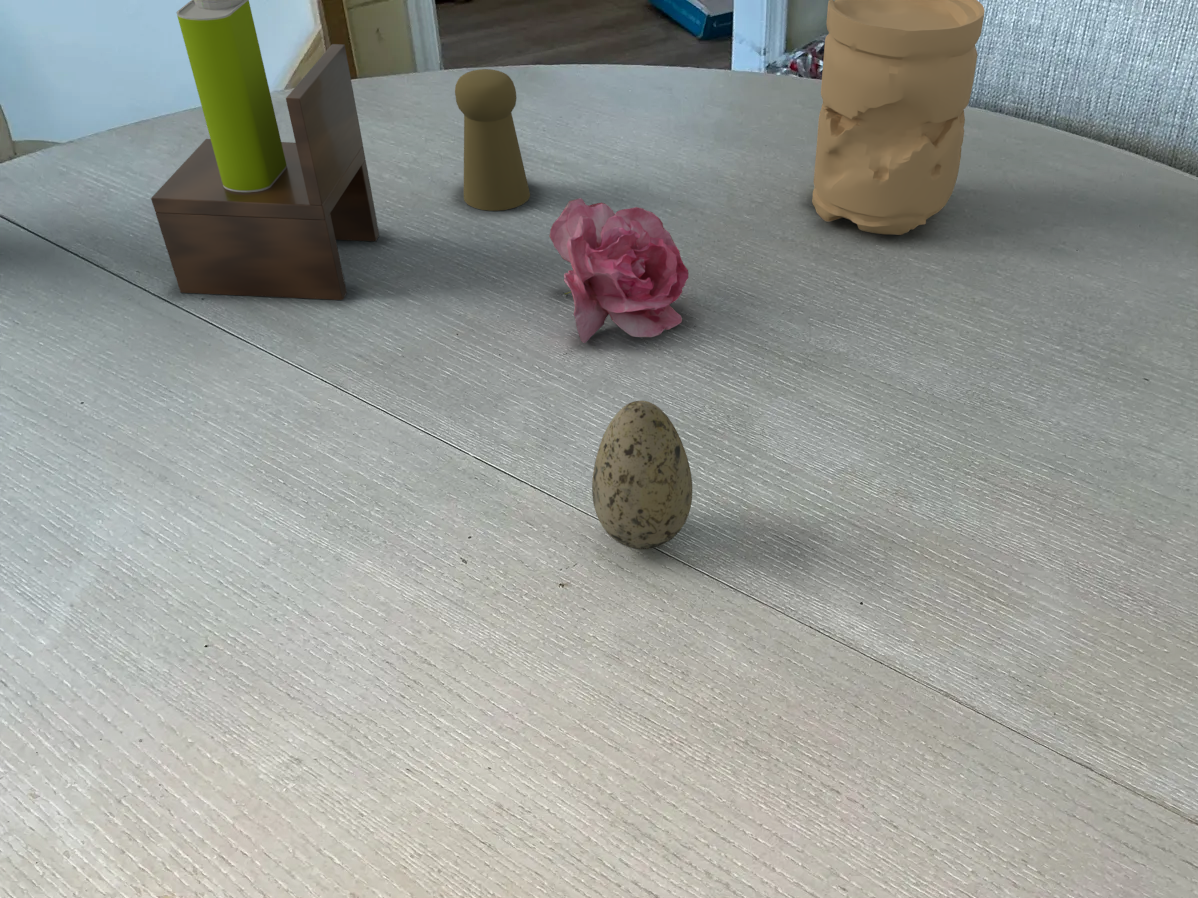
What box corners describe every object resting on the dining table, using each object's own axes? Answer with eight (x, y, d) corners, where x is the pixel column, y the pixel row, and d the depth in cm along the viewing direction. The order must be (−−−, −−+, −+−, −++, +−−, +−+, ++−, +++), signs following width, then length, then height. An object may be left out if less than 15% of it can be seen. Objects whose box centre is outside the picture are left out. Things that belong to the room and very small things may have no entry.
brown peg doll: (485, 217, 104) (470, 92, 97) (451, 192, 108) (434, 71, 100) (543, 198, 107) (533, 76, 100) (507, 175, 111) (495, 56, 103)
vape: (292, 160, 93) (229, -122, 80) (265, 193, 89) (193, -100, 76) (246, 158, 93) (175, -125, 80) (217, 190, 89) (136, -103, 76)
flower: (698, 350, 95) (712, 297, 85) (577, 376, 93) (577, 324, 83) (662, 223, 97) (672, 158, 87) (544, 246, 95) (540, 182, 85)
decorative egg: (616, 582, 70) (610, 447, 63) (581, 522, 74) (571, 389, 67) (707, 555, 72) (710, 421, 65) (668, 498, 76) (667, 366, 69)
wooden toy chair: (180, 292, 93) (116, 90, 83) (230, 228, 101) (178, 37, 91) (342, 300, 93) (299, 98, 82) (379, 235, 101) (344, 44, 91)
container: (784, 201, 108) (797, -6, 96) (889, 172, 113) (914, -28, 101) (870, 258, 100) (896, 40, 88) (979, 223, 105) (1018, 13, 93)
